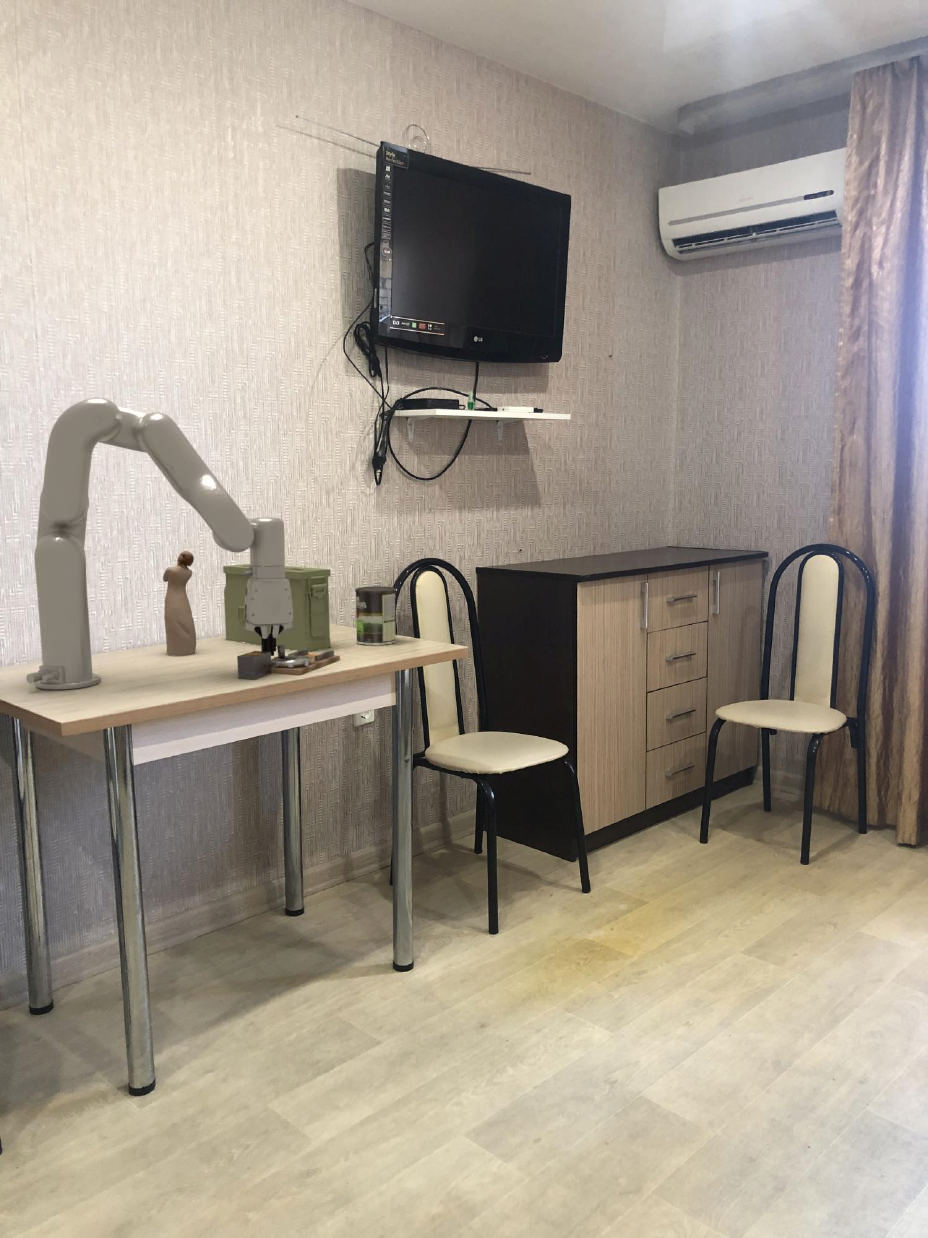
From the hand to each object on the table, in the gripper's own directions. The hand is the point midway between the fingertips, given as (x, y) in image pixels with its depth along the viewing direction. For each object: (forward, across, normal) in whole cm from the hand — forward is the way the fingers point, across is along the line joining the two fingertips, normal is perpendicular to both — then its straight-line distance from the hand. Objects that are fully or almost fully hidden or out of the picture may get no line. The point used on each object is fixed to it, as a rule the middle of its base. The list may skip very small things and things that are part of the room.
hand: (268, 655), depth 222 cm
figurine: (+4, -14, +30) cm, 33 cm away
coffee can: (+3, +34, +22) cm, 40 cm away
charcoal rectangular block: (+3, -5, -7) cm, 9 cm away
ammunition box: (+3, +11, +32) cm, 34 cm away
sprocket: (+2, +4, -3) cm, 5 cm away
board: (+3, +7, 0) cm, 7 cm away
